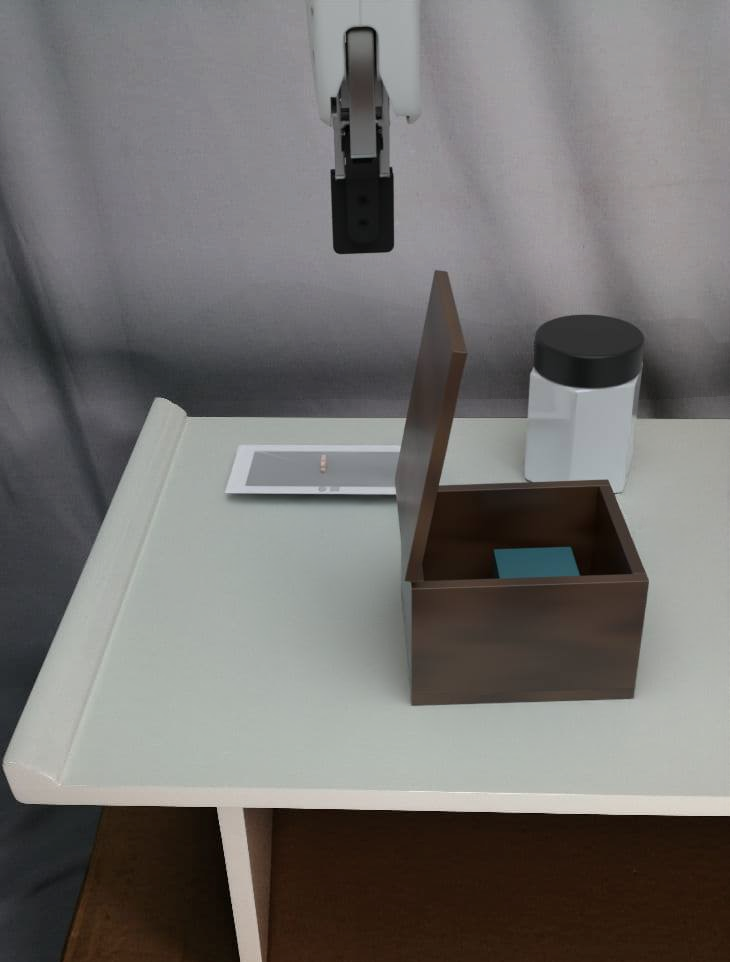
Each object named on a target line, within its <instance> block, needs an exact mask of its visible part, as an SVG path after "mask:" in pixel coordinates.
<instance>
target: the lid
mask: <svg viewBox="0 0 730 962" xmlns="http://www.w3.org/2000/svg"><path fill="white" fill-rule="evenodd" d="M456 304H457V303H456V300H455V296H454V292H453V289H452V283H451V279H450V276H449V271H446V270H438V269H435V270H434V272H433V278H432V282H431V288H430V293H429V298H428V304H427V307H426V308H427V309H426V314H425V319H424V323H423V324H424V325H423V329H422V335H421V340H420V345H419V350H418V356H417V361H416V366H415V371H414V375H413V380H412V381H413V382H412V387H411V392H410V397H409V402H408V407H407V412H406V418H405V424H404V428H403V433H402V439H401V442H400V443H401V444H400V446H401V449H400V454H399V459H398V464H397V469H396V475H395V488H396V494H395V496H396V497H395V498H396V507H397V518H398V527H399V528H398V529H399V538H400V550H401V549H402V559H403V569H404V579H405V581H407V582H416V583H417V582H418V580H419V576H420V571H421V566H422V562H423V557H424V553H425V548H426V543H427V539H428V534H429V530H430V525H431V520H432V516H433V511H434V506H435V502H436V497H437V493H438V488H439V485H440V483H441V479H442V475H443V469H444V464H445V460H446V454H447V451H448V446H449V441H450V436H451V432H452V427H453V423H454V418H455V413H456V409H457V405H458V400H459V395H460V392H461V386H462V381H463V377H464V371H465V368H466V363H467V359H468V350H467V346H466V341H465V338H464V333H463V329H462V325H461V319H460V317H459V313H458V308H457V305H456Z"/></svg>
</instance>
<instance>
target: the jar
mask: <svg viewBox="0 0 730 962" xmlns="http://www.w3.org/2000/svg"><path fill="white" fill-rule="evenodd" d="M645 342H646V341H645V335H644V333H643V331H642V330H641V329H640V328H639V327H638V326H636V325H634V324H632V323H631V322H628V321H626V320H624V319H621V318H617V317H614V316H607V315H602V314H601V315H600V314H571V315H564V316H560V317H556V318H552V319H550V320H548V321H545V322H544V323H542V324H541V325H540V326H539V327H538V328H537V329H536V331H535V333H534V341H533V367H532V369H531V371H530V373H529V386H528V403H527V421H526V437H525V455H524V472H523V477H524V479H525V480H527V481H528V482H548V481H576V480H604V479H608V480H609V482H610V485H611V487H612V490H613V492H614V494H620V493H622V492H623V491H624V489H625V485H626V482H627V479H628V475H629V472H630V469H631V466H632V462H633V461H632V460H633V451H634V442H635V434H636V425H637V416H638V409H639V399H640V393H641V392H640V390H641V383H642V382H641V381H642V374H643V366H644V365H643V364H644V362H643V361H644V360H643V359H644V352H645V351H644V350H645Z"/></svg>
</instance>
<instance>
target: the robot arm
mask: <svg viewBox="0 0 730 962" xmlns="http://www.w3.org/2000/svg"><path fill="white" fill-rule="evenodd" d="M305 12H306V13H305V14H306V24H307V27H306V28H307V36H308V37H307V38H308V45H309V47H308V48H309V56H310V63H311V68H312V78H313V84H314V90H315V97H316V104H317V110H318V117H319V120H320V121H321V122H323V124H325V125H326V126H328V127H330V128H331V127H332V130H333V149H334V151H333V152H334V168H330V171H329V172H330V175H329V176H330V199H331V200H330V205H331V223H332V224H331V226H332V227H331V228H332V249H333V251H334V252H335V253H336V254H337V255H359V254H360V255H361V254H385V253H386V254H387V253H390V252H392V251H393V250H394V248H395V175H394V169H393V166H390V163H391V161H390V159H391V157H390V156H391V155H390V154H391V153H390V151H391V149H390V148H391V147H390V140H391V139H390V134H391V133H390V127H391V118H390V103H391V106H392V109H393V111H394V114H395V116H396V117H405V119H406V123H407V125H408V124H409V125H413V124H414V123H416V122H417V121H418V120H419V119H420V117H421V116H422V94H421V93H422V92H421V90H422V89H421V87H422V86H421V0H305Z"/></svg>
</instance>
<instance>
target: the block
mask: <svg viewBox="0 0 730 962" xmlns="http://www.w3.org/2000/svg"><path fill="white" fill-rule="evenodd" d="M561 576H580V574H579V571H578V568H577V565H576V562H575V558H574V555H573V552H572V549H571V547H550V548H521V549H494V550H493V570H492V579H502V578H531V577H561Z"/></svg>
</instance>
